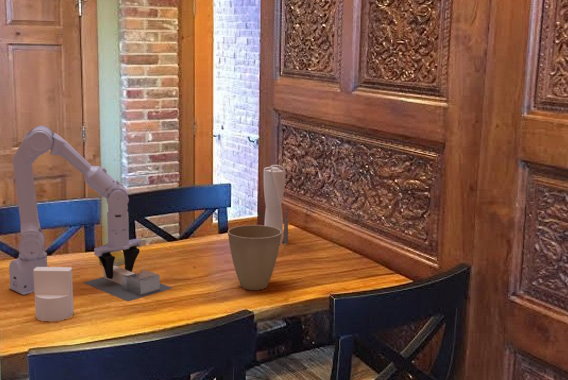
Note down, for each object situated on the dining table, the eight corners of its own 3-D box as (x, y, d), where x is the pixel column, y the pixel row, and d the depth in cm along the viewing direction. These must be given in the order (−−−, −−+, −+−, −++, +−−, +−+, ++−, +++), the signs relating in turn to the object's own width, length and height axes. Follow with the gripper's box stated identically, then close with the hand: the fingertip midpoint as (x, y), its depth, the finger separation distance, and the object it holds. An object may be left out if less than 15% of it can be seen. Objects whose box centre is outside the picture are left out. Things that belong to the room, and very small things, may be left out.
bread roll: (100, 269, 223) (99, 256, 223) (99, 260, 232) (98, 247, 231) (128, 267, 226) (128, 254, 225) (126, 258, 234) (126, 246, 233)
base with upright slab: (77, 308, 191) (75, 263, 188) (68, 322, 182) (66, 274, 179) (41, 308, 190) (39, 263, 188) (31, 322, 181) (28, 274, 179)
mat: (128, 302, 195) (128, 301, 195) (82, 283, 209) (82, 282, 209) (173, 289, 206) (173, 287, 206) (127, 272, 220) (127, 270, 220)
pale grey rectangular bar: (103, 277, 213) (103, 266, 213) (112, 275, 216) (112, 264, 215) (127, 286, 206) (126, 275, 206) (135, 284, 208) (135, 273, 208)
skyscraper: (283, 249, 247) (284, 166, 242) (259, 247, 249) (260, 164, 244) (288, 243, 256) (290, 161, 250) (265, 241, 257) (267, 160, 252)
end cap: (138, 296, 199) (138, 280, 198) (121, 289, 204) (121, 273, 203) (161, 289, 205) (161, 274, 204) (143, 283, 210) (143, 268, 209)
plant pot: (291, 287, 210) (292, 232, 207) (250, 298, 200) (250, 241, 197) (257, 274, 221) (258, 221, 218) (216, 284, 211) (216, 229, 208)
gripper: (104, 236, 200) (105, 284, 203) (148, 226, 211) (148, 273, 213) (89, 231, 205) (90, 278, 207) (132, 222, 215) (133, 267, 218)
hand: (119, 275), depth 211 cm, fingers open, 6 cm apart
